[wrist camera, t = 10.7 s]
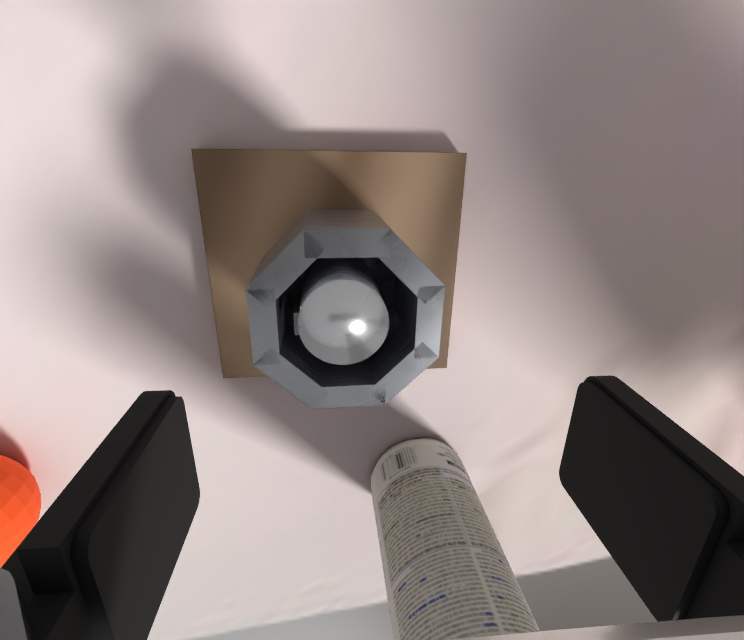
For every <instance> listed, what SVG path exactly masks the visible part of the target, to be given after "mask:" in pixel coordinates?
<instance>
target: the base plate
mask: <svg viewBox="0 0 744 640" xmlns="http://www.w3.org/2000/svg"><path fill="white" fill-rule="evenodd" d="M191 150H192V157H193V164H194V171H195V178H196V185H197V193H198V200H199V207H200V214H201V221H202V228H203V236H204V243H205V250H206V257H207V264H208V272H209V279H210V286H211V293H212V300H213V307H214V315H215V322H216V329H217V336H218V343H219V350H220V358H221V365H222V372H223V378H236V377H257V376H267V375H266V374H265V373H263V372H262V371H261V370H259V369H258V368H257V367H255V366H254V365H253V356H252V347H251V337H250V327H249V318H248V308H247V299H246V288H247V286H248V284H249V282H250V280H251V278H252V277H253V275H254V273H255V271H256V269H257V267H258V265H259V263H260V261H261V259H262V257H263V256H264V255H265V254H266V253H267V252H268V251H269V250H270V249H271V248H272V246H273V245H274V244H275V243H276V242H277V241H278V240H279V239H280V238H281V237H282V236H283V235H284V234H285V233H286V232H287V231H288V230H289V228H290V227H291V226H292V225H293V224H294V223H295V222H296V221H297V220H298V219H299V218H300V217H301V216H302V215H303V214H304V213H305V212H306V210H333V209H338V210H374V211H375V212H376V213H377V214H378V215H379V216H380V217H381V218H382V220H383V221H384V222H385V223H386V224H387V225H388V226H389V227H390V228H391V229H392V230H393V231H394V232H395V233H396V234H397V235H398V236H399V237H400V238H401V240H402V241H403V242H404V243H405V244H406V245H407V246H408V247H409V248H410V249H411V250H412V251H413V252H414V253H415V254H416V255H417V256H418V257H419V258H420V259H421V261H422V262H423V263H424V264H425V265H426V266H427V267H428V268H429V269H430V270H431V271H432V272H433V273H434V274H435V276H436V277H437V278H438V279H439V280H440V281H441V282H442V283H443V284H444V285H445V291H444V302H443V314H442V325H441V337H440V348H439V358H438V359H436V360H435V361H434V362H433V363H432V364H431V365H430V366H428V367H427V368H426V369H430V368H447V357H448V346H449V336H450V325H451V314H452V304H453V293H454V282H455V272H456V261H457V250H458V240H459V229H460V218H461V208H462V197H463V186H464V176H465V165H466V154H467V153H437V152H373V151H308V150H244V149H191Z"/></svg>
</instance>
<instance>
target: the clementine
mask: <svg viewBox="0 0 744 640" xmlns="http://www.w3.org/2000/svg"><path fill="white" fill-rule="evenodd" d="M40 509H41V494H40V491H39V487H38V485H37V482H36V480H35V477H34V476H33V475H32V474H31V473H30V471H29V470H28V469H27V468H25V467H24V466H23V465H21V464H20V463H19V462H17V461H15V460H13V459H10V458H8V457H5V456H2V455H0V568H1V567H2V566H3V565H4V563H5V562H6V561H7V560H8V558H9V557H10V556H11V555H12V553H13V552H14V551H15V550H16V548H17V547H18V546H19V545H20V543H21V542H22V541H23V540H24V538H25V537H26V536H27V535H28V533H29V532H30V531H31V530H32V529H33V527H34V526H35V525H36V524H37V521H38V519H39V514H40Z"/></svg>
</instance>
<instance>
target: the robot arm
mask: <svg viewBox="0 0 744 640" xmlns="http://www.w3.org/2000/svg"><path fill="white" fill-rule="evenodd" d="M559 476H560V481H561V483H562V485H563V487H564V488H565V490H566V491H567V493H568V494H569V496H570V497H571V498H572V500H573V501H574V503H575V504H576V506H577V507H578V509H579V510H580V511H581V513H582V514H583V516H584V517H585V519H586V520H587V521H588V523H589V524H590V526H591V527H592V529H593V530H594V531H595V533H596V534H597V536H598V537H599V539H600V540H601V542H602V543H603V544H604V546H605V547H606V549H607V550H608V552H609V553H610V554H611V556H612V557H613V559H614V560H615V562H616V563H617V565H618V566H619V567H620V569H621V570H622V571H623V573H624V574H625V576H626V577H627V579H628V580H629V582H630V583H631V584H632V586H633V587H634V589H635V590H636V592H637V593H638V595H639V596H640V598H641V599H642V600H643V602H644V603H645V605H646V606H647V608H648V609H649V610H650V612H651V613H652V615H653V616H654V617H655V618H656V620H657V621H658V622H649V623H638V624H637V623H636V624H625V625H613V626H600V627H588V628H576V629H564V630H553V631H542V632H529V633H518V634H506V635H495V636H484V637H472V638H461V639H450V640H744V476H743V475H742V474H740V473H739V472H738V471H736V470H735V469H734V468H733V467H731V466H730V465H729V464H727V463H726V462H725V461H724V460H722V459H721V458H720V457H718V456H717V455H716V454H715V453H713V452H712V451H711V450H709V449H708V448H707V447H706V446H704V445H703V444H702V443H701V442H699V441H698V440H697V439H695V438H694V437H693V436H692V435H690V434H689V433H688V432H686V431H685V430H684V429H683V428H681V427H680V426H679V425H677V424H676V423H675V422H674V421H672V420H671V419H670V418H668V417H667V416H666V415H665V414H663V413H662V412H661V411H659V410H658V409H657V408H656V407H654V406H653V405H652V404H650V403H649V402H648V401H647V400H645V399H644V398H643V397H642V396H640V395H639V394H638V393H636V392H635V391H634V390H633V389H631V388H630V387H629V386H627V385H626V384H625V383H624V382H622V381H621V380H620V379H618V378H617V377H615V376H590V377H588V378H586V380H585V381H584V383H581V384H580V385H579V387H578V390H577V394H576V398H575V403H574V407H573V412H572V416H571V421H570V425H569V429H568V434H567V438H566V443H565V447H564V451H563V456H562V460H561V465H560V469H559ZM199 498H200V489H199V483H198V478H197V472H196V467H195V461H194V455H193V450H192V444H191V439H190V433H189V428H188V422H187V417H186V411H185V405H184V401H183V399H182V397H176V396H175V394H174V392H173V391H171V390H168V391H145V392H143V393H142V394H140V396H139V397H138V398H137V399H136V401H135V402H134V403H133V404H132V406H131V407H130V408H129V409H128V411H127V412H126V413H125V414H124V416H123V417H122V418H121V419H120V421H119V422H118V423H117V424H116V426H115V427H114V428H113V429H112V430H111V432H110V433H109V434H108V435H107V437H106V438H105V439H104V440H103V442H102V443H101V444H100V445H99V447H98V448H97V449H96V450H95V452H94V453H93V454H92V455H91V457H90V458H89V459H88V460H87V462H86V463H85V464H84V465H83V466H82V468H81V469H80V470H79V471H78V473H77V474H76V475H75V476H74V478H73V479H72V480H71V481H70V483H69V484H68V485H67V486H66V488H65V489H64V490H63V491H62V493H61V494H60V495H59V496H58V497H57V499H56V500H55V501H54V502H53V504H52V505H51V506H50V507H49V509H48V510H47V511H46V512H45V514H44V515H43V516H42V517H41V519H40V520H39V521H38V522H37V524H36V525H35V526H34V527H33V529H32V530H31V531H30V532H29V533H28V535H27V536H26V537H25V538H24V540H23V541H22V542H21V543H20V545H19V546H18V547H17V548H16V550H15V551H14V552H13V553H12V555H11V556H10V557H9V558H8V560H7V561H6V562H5V563H4V565H3V566H2V567H1V568H0V640H147V638H148V635H149V632H150V630H151V627H152V625H153V622H154V619H155V617H156V614H157V612H158V609H159V606H160V604H161V601H162V599H163V596H164V593H165V591H166V588H167V586H168V583H169V580H170V578H171V575H172V573H173V570H174V567H175V565H176V562H177V560H178V557H179V554H180V552H181V549H182V547H183V544H184V541H185V539H186V536H187V534H188V531H189V528H190V526H191V523H192V521H193V518H194V515H195V513H196V510H197V507H198V504H199Z"/></svg>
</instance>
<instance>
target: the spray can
mask: <svg viewBox="0 0 744 640" xmlns="http://www.w3.org/2000/svg"><path fill="white" fill-rule="evenodd" d="M371 492H372V499H373V506H374V512H375V519H376V525H377V531H378V538H379V544H380V551H381V557H382V564H383V571H384V578H385V584H386V591H387V597H388V604H389V610H390V617H391V624H392V630H393V636H394V640H450V639H461V638H472V637H484V636H495V635H506V634H518V633H529V632H540V630H539V628H538V626H537V624H536V622H535V620H534V617H533V615H532V613H531V611H530V609H529V606H528V604H527V602H526V600H525V598H524V596H523V593H522V591H521V589H520V587H519V585H518V583H517V580H516V578H515V576H514V574H513V572H512V569H511V567H510V565H509V563H508V561H507V559H506V556H505V554H504V552H503V550H502V548H501V546H500V543H499V541H498V539H497V537H496V535H495V533H494V530H493V528H492V526H491V524H490V522H489V519H488V517H487V515H486V513H485V511H484V509H483V506H482V504H481V502H480V500H479V498H478V496H477V493H476V491H475V489H474V487H473V485H472V483H471V480H470V478H469V476H468V474H467V472H466V469H465V467H464V465H463V463H462V461H461V459H460V458H459V456H458V455H457V453H456V452H455V451H454V450H453V449H452V448H451V447H450V446H449V445H447V444H445V443H444V442H441V441H439V440H436V439H431V438H421V439H412V440H406V441H403V442H401V443H398V444H396V445H394V446H391V447H390V448H389V449H388V450H387V451H386V452H385V453H384V454H383V455H382V456H381V458H380V459H379V460H378V461H377V463H376V465H375V467H374V470H373V473H372V475H371Z"/></svg>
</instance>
